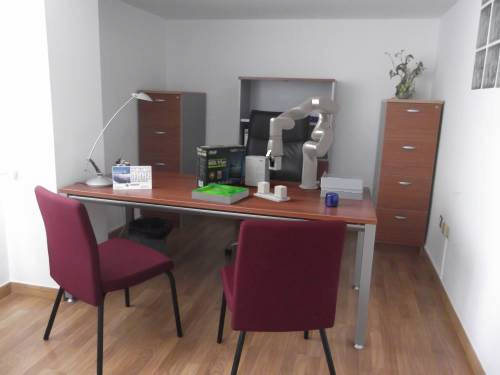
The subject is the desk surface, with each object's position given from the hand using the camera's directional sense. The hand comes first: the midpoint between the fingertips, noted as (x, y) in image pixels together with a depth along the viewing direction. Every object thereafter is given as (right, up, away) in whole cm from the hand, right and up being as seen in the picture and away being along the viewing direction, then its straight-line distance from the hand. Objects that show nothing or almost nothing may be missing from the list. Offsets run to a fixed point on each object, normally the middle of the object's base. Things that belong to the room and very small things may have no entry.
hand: (274, 166), depth 260 cm
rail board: (-3, -20, -12) cm, 23 cm away
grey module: (0, -2, 0) cm, 2 cm away
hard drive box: (-11, -12, +22) cm, 28 cm away
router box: (-35, -12, +20) cm, 42 cm away
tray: (-33, -20, -15) cm, 41 cm away
